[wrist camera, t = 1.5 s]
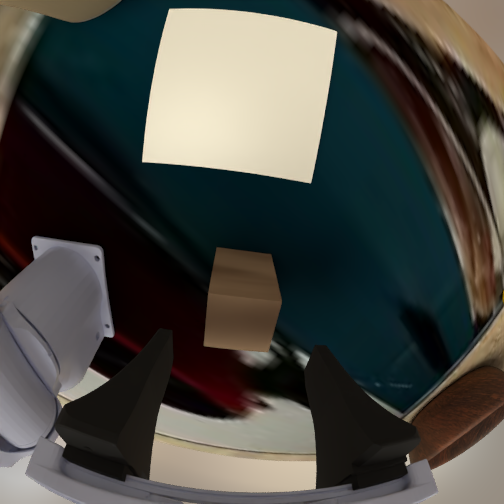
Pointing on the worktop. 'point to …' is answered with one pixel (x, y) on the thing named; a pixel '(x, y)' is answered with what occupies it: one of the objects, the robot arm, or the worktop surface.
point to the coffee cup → (65, 8)
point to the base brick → (239, 93)
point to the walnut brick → (242, 301)
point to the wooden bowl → (460, 416)
